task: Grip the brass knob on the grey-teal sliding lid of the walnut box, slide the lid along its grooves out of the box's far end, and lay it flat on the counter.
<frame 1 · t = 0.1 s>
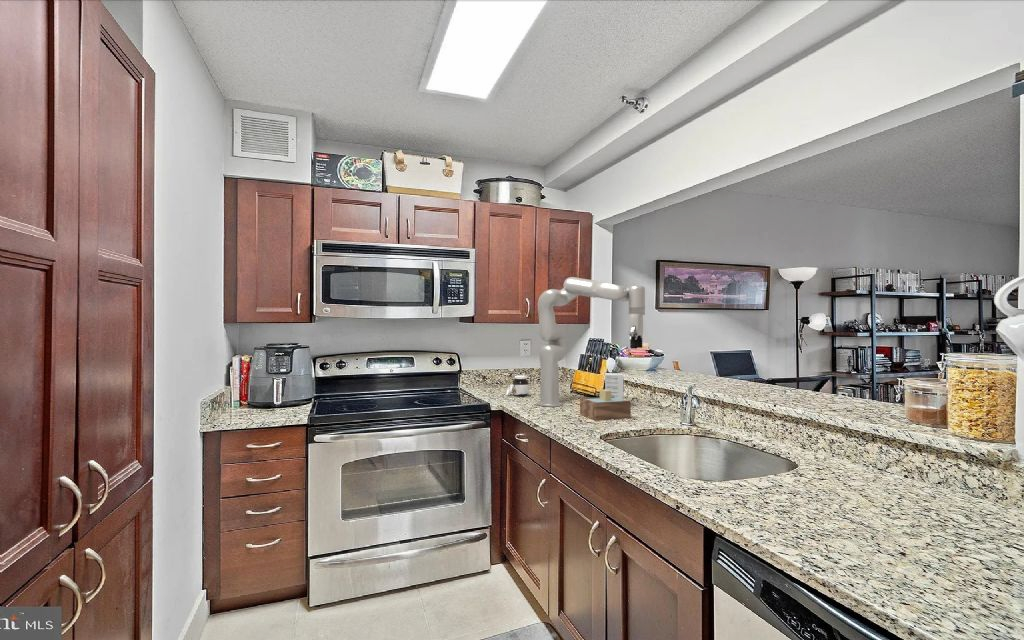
hand: (636, 347, 226), 31 cm above the worktop, tool pointing down, fingers open, 9 cm apart
cover plate: (605, 403, 218), point 6 cm above the worktop, touching slide box
spread jar: (516, 396, 278), on the worktop
supplement box: (614, 406, 245), on the worktop
slide box: (604, 416, 218), on the worktop
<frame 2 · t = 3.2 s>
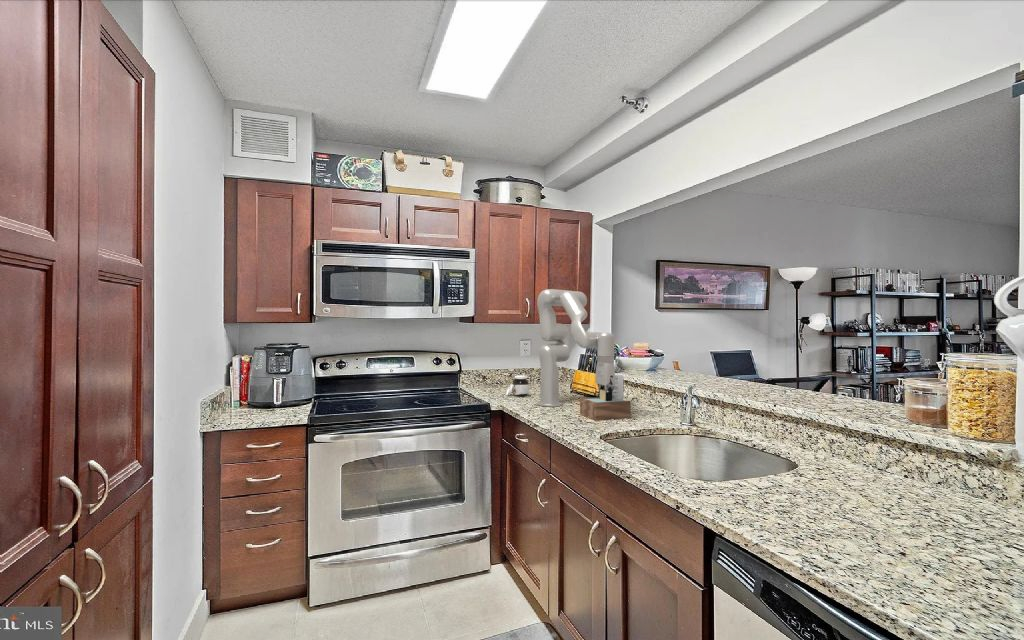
hand: (605, 399, 218), 8 cm above the worktop, tool pointing down, fingers closed on cover plate, 5 cm apart
cover plate: (605, 403, 218), point 6 cm above the worktop, touching gripper, slide box
everything else where it was.
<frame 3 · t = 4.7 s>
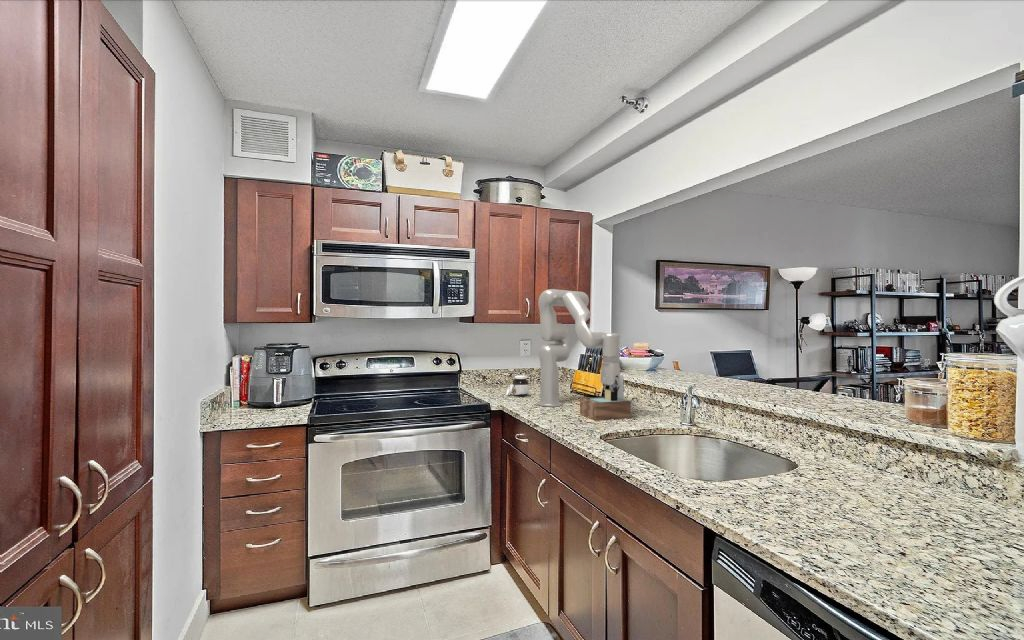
hand: (610, 399, 219), 8 cm above the worktop, tool pointing down, fingers closed on cover plate, 5 cm apart
cover plate: (610, 403, 219), point 6 cm above the worktop, touching gripper
everything else where it was.
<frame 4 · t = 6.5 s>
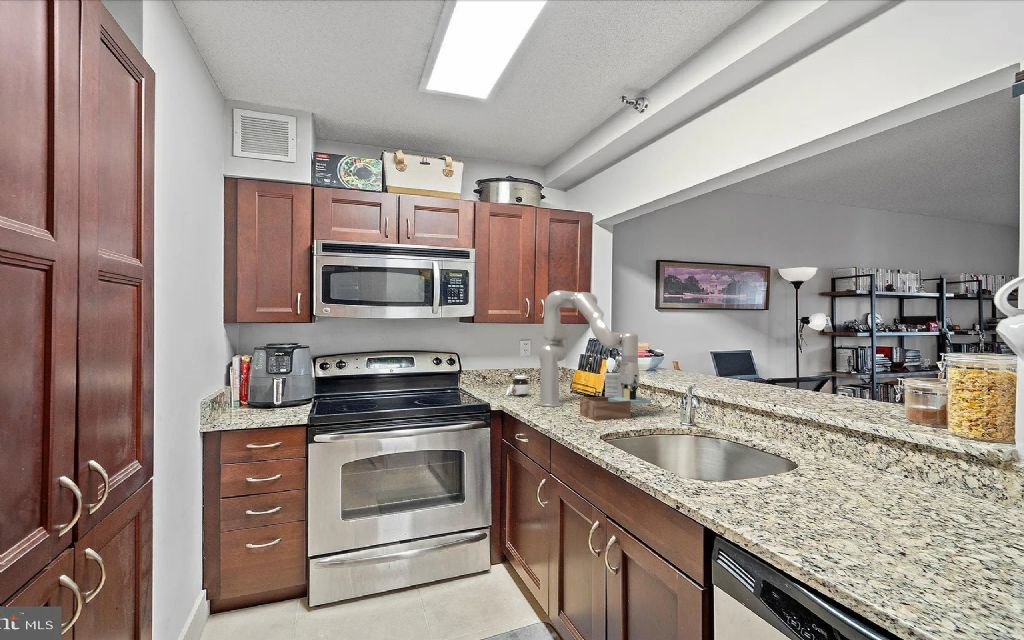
hand: (629, 398, 222), 8 cm above the worktop, tool pointing down, fingers closed on cover plate, 5 cm apart
cover plate: (629, 401, 222), point 6 cm above the worktop, touching gripper
everything else where it was.
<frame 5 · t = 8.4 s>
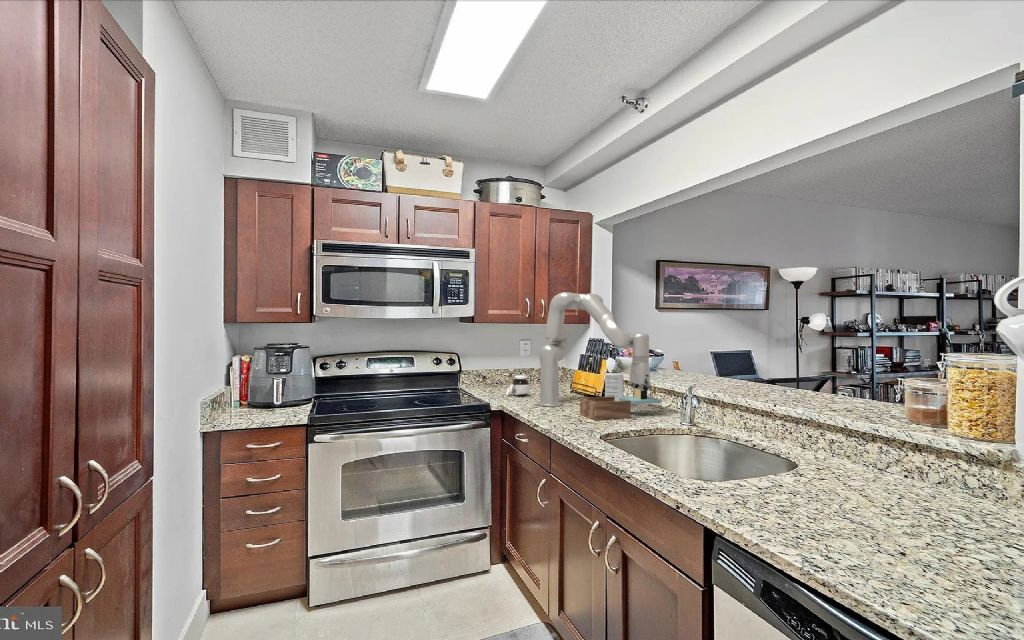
hand: (640, 397, 225), 8 cm above the worktop, tool pointing down, fingers closed on cover plate, 5 cm apart
cover plate: (640, 401, 225), point 6 cm above the worktop, touching gripper
everything else where it was.
when the fingers open (3 cm above the worktop, at t = 10.0 s): cover plate drops 2 cm, on the worktop.
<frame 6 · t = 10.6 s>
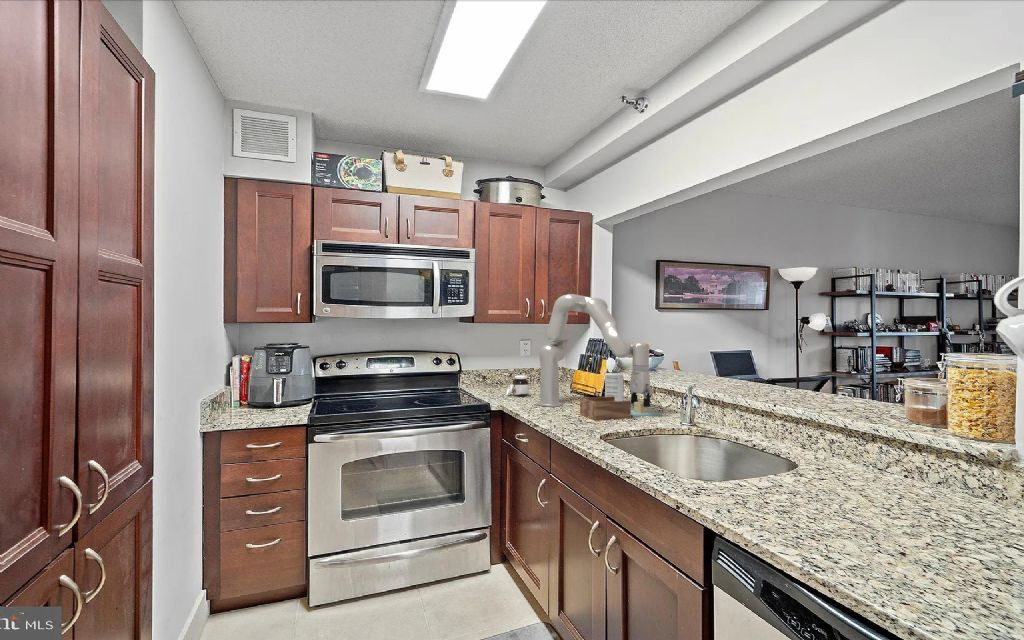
hand: (640, 405, 225), 4 cm above the worktop, tool pointing down, fingers open, 9 cm apart
cover plate: (639, 415, 225), on the worktop
everything else where it was.
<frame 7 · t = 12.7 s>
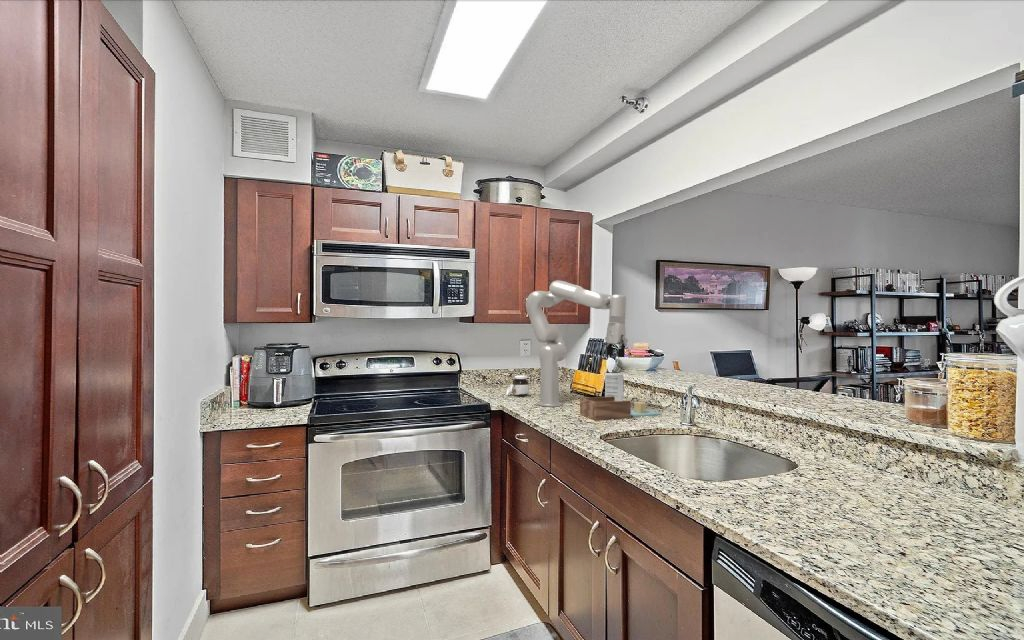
hand: (615, 356, 228), 27 cm above the worktop, tool pointing down, fingers open, 9 cm apart
nothing on the worktop moved.
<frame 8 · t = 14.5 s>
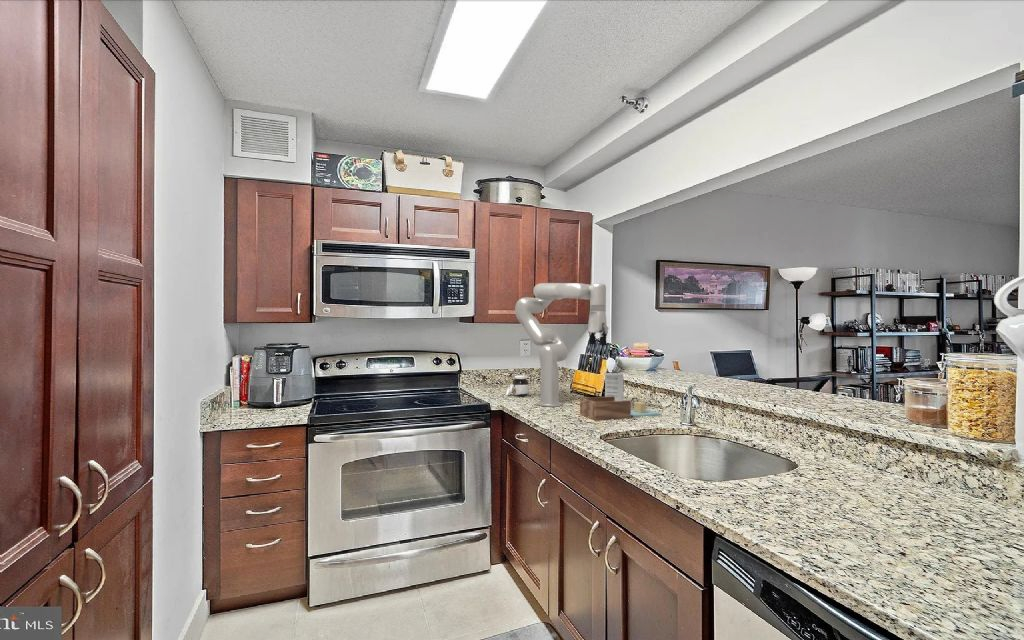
hand: (597, 344, 230), 32 cm above the worktop, tool pointing down, fingers open, 9 cm apart
nothing on the worktop moved.
at the end: cover plate inside the target area on the worktop beside the slide box (0.7 cm from its centre), on the worktop; cover plate tilted 0°; the gripper is holding nothing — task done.
